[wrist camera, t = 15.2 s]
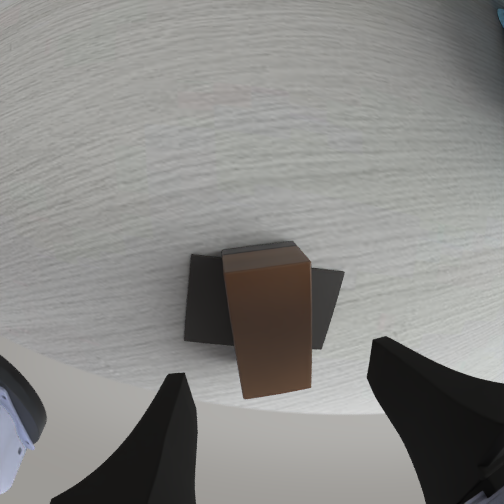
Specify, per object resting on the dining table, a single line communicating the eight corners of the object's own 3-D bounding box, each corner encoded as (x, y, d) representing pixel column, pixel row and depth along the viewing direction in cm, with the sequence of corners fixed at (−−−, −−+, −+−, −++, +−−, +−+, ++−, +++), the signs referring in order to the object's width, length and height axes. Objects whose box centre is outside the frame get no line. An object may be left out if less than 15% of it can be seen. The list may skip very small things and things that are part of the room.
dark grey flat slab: (320, 348, 17) (321, 349, 17) (184, 339, 16) (184, 341, 16) (343, 271, 16) (344, 272, 16) (191, 254, 14) (191, 254, 14)
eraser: (297, 354, 17) (311, 388, 14) (238, 364, 17) (243, 400, 14) (293, 240, 15) (311, 261, 12) (221, 249, 14) (223, 273, 12)
